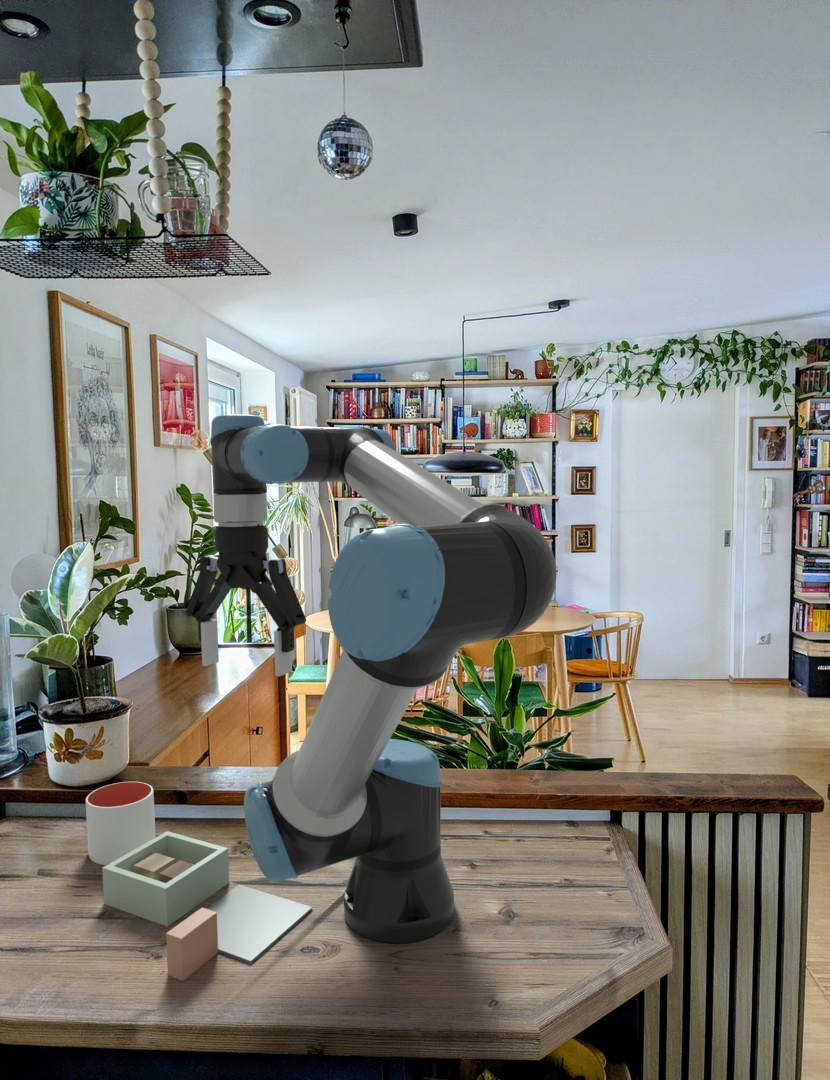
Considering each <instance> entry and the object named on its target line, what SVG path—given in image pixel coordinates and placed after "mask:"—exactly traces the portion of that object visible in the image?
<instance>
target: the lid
mask: <svg viewBox="0 0 830 1080" xmlns="http://www.w3.org/2000/svg"><path fill="white" fill-rule="evenodd" d="M312 911H313V907H312V906H309V905H307V904H303V903H300V902H297V901H294V900H291V899H287V898H284V897H281V896H278V895H274V894H272V893H268V892H264V891H262V890H258V889H255V888H251V887H249V886H245V885H242V884H238V885H237V886H235V887H234V888H233V889H231V890H229V891H228V892H227V893H225V894H224V895H222V896H221V897H220V898H218V900H216V901H214V902H213V903H211V904H210V905H209V906H208V907H206V908H205V907H200V908H199V909H198V910H196V911H195V912H193V913H192V914H191V915H189V916H188V917H187V918H186V919H184V920H182V921H181V922H180V923H178V924H177V925H175V926H174V927H173V928H171V929H170V930H168V931H167V932H166V933H165V934H166V935H165V937H166V938H165V939H166V940H165V941H166V959H167V962H166V963H167V976H170V977H172V978H175V979H177V980H179V981H182V982H183V981H185V980H186V979H188V978H189V977H190V976H191V975H192V974H194V973H195V972H196V971H197V970H199V968H201V967H202V966H203V965H205V964H206V963H207V962H208V961H209V960H211V959H212V958H213V957H214V956H216V955H217V954H218V953H219V954H222V955H225V956H227V957H230V958H233V959H236V960H239V961H241V962H243V963H246V964H249V965H252V964H254V962H255V961H257V960H258V959H259V958H260V957H261V956H262V955H263V954H265V952H267V951H268V950H269V949H270V948H272V946H273V945H274V944H277V942H278V941H279V940H280V939H281V938H282V937H284V936H285V935H286V934H287V933H288V932H290V931H291V930H292V928H294V927H295V926H296V925H297V924H298V923H299V922H301V921H302V920H303V919H304V918H305V917H306V916H308V915H309V913H311V912H312Z"/></svg>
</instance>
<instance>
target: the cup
mask: <svg viewBox="0 0 830 1080" xmlns="http://www.w3.org/2000/svg"><path fill="white" fill-rule="evenodd" d="M85 811H86V812H85V813H86V814H85V817H86V832H87V833H86V834H87V852H88V853H87V854H88V858H89V859H90V860H91V862H92V863H94V864H98V865H101V866H106V865H108V864H110V863H112V862H113V861H115V860H117V859H119V858H120V857H122V856H124V855H126V854H128V853H129V852H131V851H133V850H135V849H136V848H138V847H140V846H142V845H144V844H145V843H147V842H149V841H151V840H152V839H154V838H156V821H155V819H156V818H155V817H156V816H155V797H154V788H153V786H152V785H150V784H148V783H145V782H141V781H123V782H116V783H112V784H107V785H104V786H102V787H99V788H96V789H95V790H93V791H92V792H90V793H89V794H88V795H87V796H86V798H85Z"/></svg>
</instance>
